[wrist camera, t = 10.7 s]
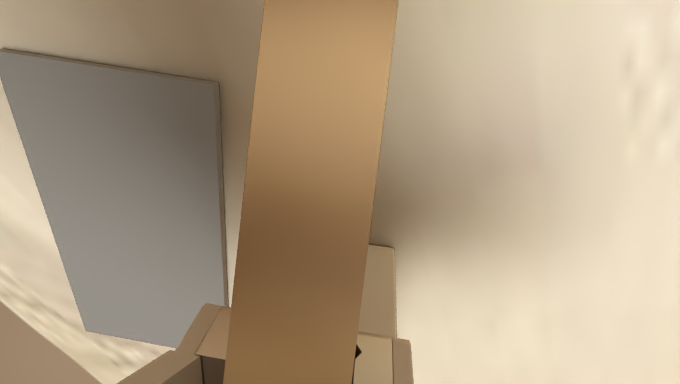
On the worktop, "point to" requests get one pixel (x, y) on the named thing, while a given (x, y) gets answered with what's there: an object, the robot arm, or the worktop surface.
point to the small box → (379, 293)
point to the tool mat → (126, 188)
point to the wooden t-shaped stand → (309, 190)
